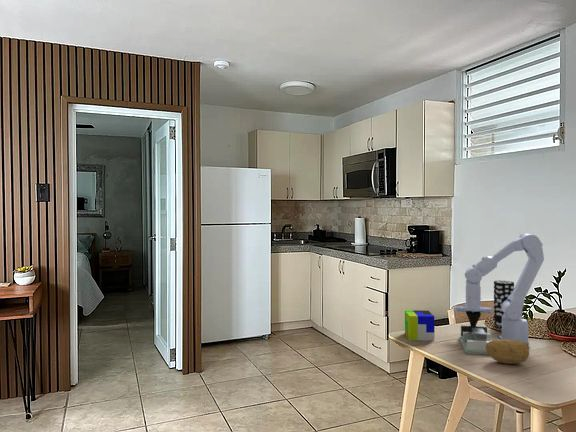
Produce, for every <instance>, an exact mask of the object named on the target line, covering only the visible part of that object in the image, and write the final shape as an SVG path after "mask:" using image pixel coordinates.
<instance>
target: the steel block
mask: <svg viewBox="0 0 576 432" xmlns="http://www.w3.org/2000/svg"><path fill="white" fill-rule="evenodd" d="M472 340H479V341H487V334H486V332H485V331H484V330H483V329H482V328H472Z"/></svg>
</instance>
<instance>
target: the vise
mask: <svg viewBox="0 0 576 432" xmlns="http://www.w3.org/2000/svg"><path fill="white" fill-rule="evenodd" d="M458 340H459V342H460V344H461V346H462V349H463V350H464V353H465V354H468V355H481V354H485V356H490V355H489V354H488V353H487V351H486V348H485V347H486V344H487V343H488V342H490V341H479V340H467V341H464V340H463V337H461V336H458ZM491 341H492V339H491Z"/></svg>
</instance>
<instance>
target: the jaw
mask: <svg viewBox="0 0 576 432" xmlns="http://www.w3.org/2000/svg"><path fill="white" fill-rule="evenodd" d="M472 328H482V329H483V330H484V331H485V332H486V334H487V341H491V340H492V339H491V338H492V334H491V333H490V332H488V326H481V325H480V326H479V325H476V326H471V325H460V337H463V340H464V341H467V340H472Z"/></svg>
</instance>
